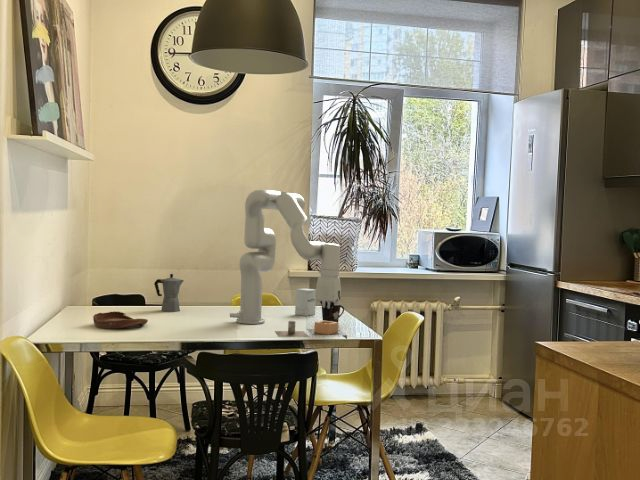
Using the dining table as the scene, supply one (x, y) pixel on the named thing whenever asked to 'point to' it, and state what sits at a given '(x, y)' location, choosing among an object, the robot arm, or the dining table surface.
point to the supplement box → (305, 302)
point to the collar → (326, 327)
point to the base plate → (328, 334)
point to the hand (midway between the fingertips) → (327, 317)
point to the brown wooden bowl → (116, 320)
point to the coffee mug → (334, 313)
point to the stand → (291, 331)
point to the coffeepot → (169, 293)
